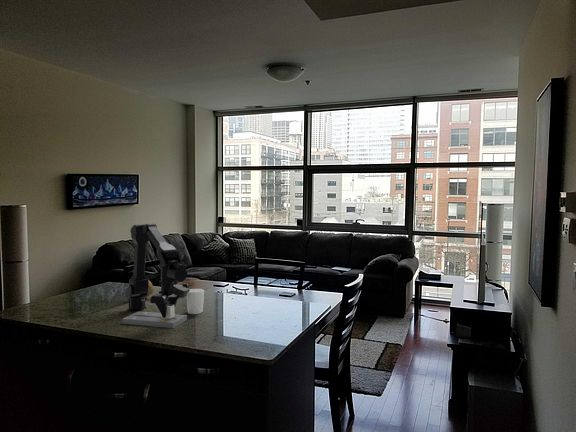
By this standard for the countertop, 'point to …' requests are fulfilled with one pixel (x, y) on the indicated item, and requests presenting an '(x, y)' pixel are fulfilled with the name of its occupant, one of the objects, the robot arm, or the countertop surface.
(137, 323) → the slider track base
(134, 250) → the robot arm
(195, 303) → the white cup
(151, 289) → the natural sponge
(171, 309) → the fader cap
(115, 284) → the countertop surface
